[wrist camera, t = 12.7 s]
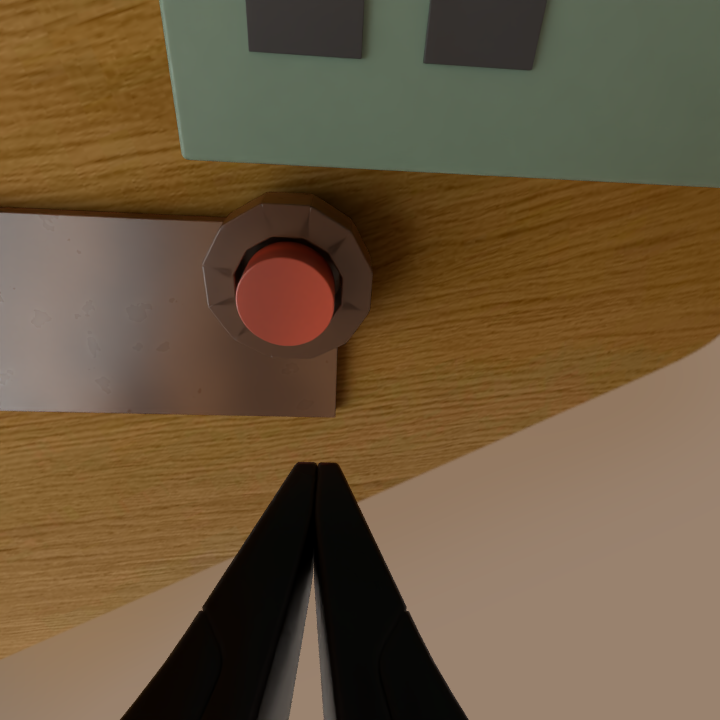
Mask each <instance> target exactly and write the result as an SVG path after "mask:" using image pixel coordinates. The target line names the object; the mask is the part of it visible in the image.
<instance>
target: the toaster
mask: <svg viewBox="0 0 720 720" xmlns="http://www.w3.org/2000/svg"><path fill="white" fill-rule="evenodd" d="M159 3H160V10H161V16H162V23H163V30H164V37H165V44H166V50H167V57H168V64H169V71H170V78H171V84H172V91H173V98H174V105H175V112H176V119H177V125H178V132H179V139H180V146H181V153H182V155H183V157H184V158H186V159H188V160H203V161H222V162H241V163H260V164H278V165H297V166H316V167H335V168H354V169H373V170H392V171H411V172H430V173H449V174H468V175H487V176H506V177H525V178H544V179H562V180H581V181H600V182H619V183H638V184H657V185H676V186H695V187H714V188H720V0H159Z"/></svg>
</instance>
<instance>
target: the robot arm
mask: <svg viewBox="0 0 720 720" xmlns="http://www.w3.org/2000/svg"><path fill="white" fill-rule="evenodd" d="M313 568H314V585H315V600H316V614H317V629H318V643H319V658H320V672H321V686H322V701H323V715H324V720H468V718H467V716H466V715H465V713H464V711H463V710H462V708H461V707H460V705H459V703H458V702H457V700H456V699H455V697H454V695H453V694H452V692H451V690H450V689H449V687H448V685H447V683H446V682H445V680H444V678H443V677H442V675H441V673H440V672H439V670H438V668H437V666H436V664H435V663H434V661H433V659H432V657H431V656H430V653H429V651H428V649H427V647H426V646H425V643H424V642H423V639H422V638H421V636H420V634H419V632H418V630H417V628H416V625H415V623H414V621H413V619H412V617H411V615H410V613H409V611H406V605H405V603H404V601H403V599H402V596H401V595H400V592H399V590H398V588H397V586H396V584H395V582H394V580H393V577H392V575H391V573H390V571H389V569H388V567H387V565H386V563H385V561H384V559H383V556H382V554H381V552H380V550H379V548H378V546H377V544H376V542H375V540H374V537H373V535H372V533H371V531H370V529H369V527H368V525H367V523H366V521H365V518H364V516H363V514H362V512H361V510H360V508H359V506H358V504H357V502H356V499H355V497H354V495H353V493H352V491H351V489H350V487H349V485H348V483H347V480H346V478H345V476H344V474H343V472H342V470H341V468H340V466H339V465H338V464H337V463H323V462H321V463H319V464H318V467H317V464H316V463H314V462H298V463H297V464H296V465H295V466H294V467H293V469H292V470H291V472H290V473H289V475H288V477H287V478H286V480H285V481H284V483H283V484H282V486H281V487H280V489H279V490H278V492H277V493H276V495H275V496H274V498H273V500H272V501H271V503H270V504H269V506H268V507H267V509H266V510H265V512H264V513H263V515H262V516H261V518H260V519H259V521H258V523H257V524H256V526H255V527H254V529H253V530H252V532H251V533H250V535H249V536H248V538H247V539H246V541H245V542H244V544H243V545H242V547H241V549H240V550H239V552H238V553H237V555H236V556H235V558H234V559H233V561H232V562H231V564H230V565H229V567H228V568H227V570H226V572H225V573H224V575H223V576H222V578H221V579H220V581H219V582H218V584H217V585H216V587H215V588H214V590H213V591H212V593H211V595H210V596H209V598H208V599H207V601H206V602H205V604H204V605H203V607H202V608H203V611H199V613H198V614H197V616H196V617H195V619H194V620H193V622H192V623H191V625H190V627H189V628H188V629H187V631H186V633H185V634H184V635H183V637H182V638H181V640H180V641H179V643H178V644H177V645H176V647H175V648H174V650H173V651H172V653H171V654H170V656H169V657H168V658H167V660H166V661H165V663H164V664H163V666H162V667H161V668H160V669H159V671H158V672H157V673H156V675H155V676H154V677H153V678H152V680H151V681H150V682H149V684H148V685H147V686H146V688H145V689H144V690H143V691H142V693H141V694H140V695H139V697H138V698H137V699H136V701H135V702H134V703H133V704H132V706H131V707H130V708H129V709H128V711H127V712H126V713H125V714H124V715H123V717H122V718H121V719H120V720H289V714H290V709H291V703H292V697H293V691H294V685H295V679H296V673H297V668H298V662H299V656H300V649H301V644H302V638H303V632H304V626H305V620H306V614H307V608H308V603H309V597H310V591H311V584H312V577H313Z"/></svg>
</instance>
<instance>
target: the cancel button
mask: <svg viewBox="0 0 720 720" xmlns="http://www.w3.org/2000/svg"><path fill="white" fill-rule="evenodd" d="M334 304H335V281H334V276H333V273H332V270H331V268H330V266H329V265H328V263H327V262H326V260H325V259H324V258H323V257H322V256H321V255H320V254H319V253H318V252H316V251H315V250H313V249H312V248H310V247H308V246H306V245H303V244H300V243H296V242H276V243H273V244H269V245H267V246H265V247H263V248H262V249H260V250H259V251H258V252H256V253H255V254H254V255H253V257H252V258H251V259H250V261H249V262H248V264H247V266H246V268H245V270H244V272H243V275H242V277H241V279H240V281H239V283H238V286H237V289H236V306H237V310H238V313H239V315H240V318H241V320H242V321H243V323H244V324H245V325H246V327H247V328H248V329H249V330H250V331H251V332H252V333H253V334H255V335H256V336H257V337H259V338H261V339H263V340H265V341H267V342H269V343H272V344H276V345H282V346H295V345H301V344H304V343H307V342H309V341H311V340H313V339H315V338H316V337H318V336H319V335H320V334H321V333H323V332H324V330H325V329H326V328H327V327H328V325H329V323H330V322H331V319H332V317H333V313H334Z"/></svg>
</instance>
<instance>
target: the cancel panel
mask: <svg viewBox="0 0 720 720" xmlns="http://www.w3.org/2000/svg"><path fill="white" fill-rule="evenodd" d="M276 242H296V243H300V244H303V245H306V246H308V247H310V248H312V249H313V250H315V251H316V252H318V253H319V254H320V255H321V256H322V257H323V258H324V259H325V260H326V262H327V263H328V265H329V266H330V268H331V270H332V273H333V276H334V281H335V304H334V313H333V317H332V319H331V322H330V323H329V325H328V327H327V328H326V329H325V330H324V332H323V333H321V334H320V335H319V336H318V337H316V338H315V339H313V340H311V341H309V342H307V343H304V344H301V345H295V346H282V345H276V344H272V343H269V342H267V341H265V340H263V339H261V338H259V337H257V336H256V335H255V334H253V333H252V332H251V331H250V330H249V329H248V328H247V327H246V325H245V324H244V323H243V321H242V320H241V318H240V315H239V313H238V310H237V306H236V289H237V286H238V283H239V281H240V279H241V277H242V275H243V272H244V270H245V268H246V266H247V264H248V262H249V261H250V259H251V258H252V257H253V255H254V254H255V253H256V252H258V251H259V250H260V249H262V248H263V247H265V246H267V245H269V244H273V243H276ZM340 276H341V287H340ZM372 278H373V270H372V264H371V258H370V254H369V252H368V250H367V248H366V246H365V244H364V242H363V240H362V238H361V236H360V234H359V232H358V230H357V228H356V227H355V225H354V223H353V221H352V220H351V219H350V217H348V216H346V215H345V214H343V213H342V212H340V211H339V210H337V209H336V208H334V207H333V206H331V205H329V204H328V203H326V202H325V201H323V200H322V199H320V198H319V197H317V196H316V195H313V194H304V193H284V192H266V193H265V194H263V195H261V196H259V197H258V198H256V199H254V200H252V201H250V202H249V203H247V204H245V205H243V206H242V207H240V208H238V209H236V210H234V211H233V212H231V213H230V214H229V216H228V217H208V216H186V215H164V214H143V213H121V212H99V211H77V210H55V209H33V208H11V207H0V411H37V412H87V413H137V414H188V415H238V416H288V417H335V411H336V381H337V350H338V347H339V346H341V345H344V344H346V342H348V341H349V339H350V338H351V337H352V335H353V334H354V332H355V331H356V330H357V328H358V327H359V326H360V324H361V323H362V322H363V320H364V319H365V317H366V316H367V315H368V313H369V311H370V305H371V291H372Z"/></svg>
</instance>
